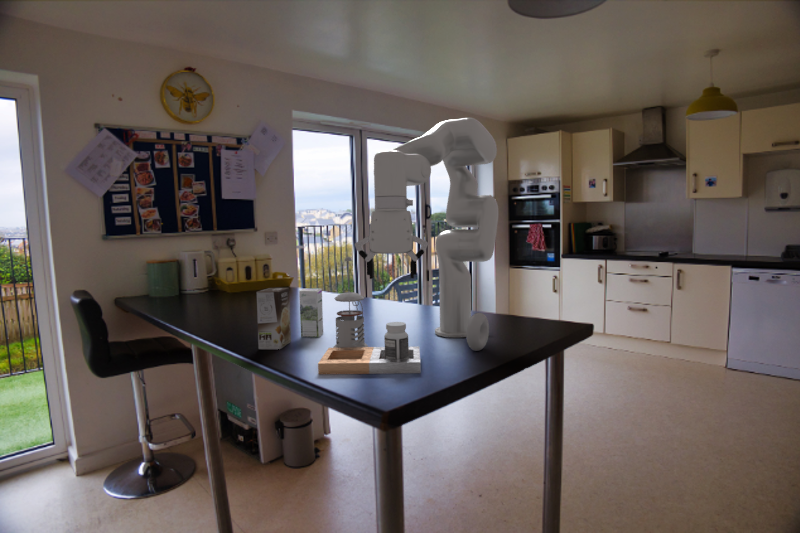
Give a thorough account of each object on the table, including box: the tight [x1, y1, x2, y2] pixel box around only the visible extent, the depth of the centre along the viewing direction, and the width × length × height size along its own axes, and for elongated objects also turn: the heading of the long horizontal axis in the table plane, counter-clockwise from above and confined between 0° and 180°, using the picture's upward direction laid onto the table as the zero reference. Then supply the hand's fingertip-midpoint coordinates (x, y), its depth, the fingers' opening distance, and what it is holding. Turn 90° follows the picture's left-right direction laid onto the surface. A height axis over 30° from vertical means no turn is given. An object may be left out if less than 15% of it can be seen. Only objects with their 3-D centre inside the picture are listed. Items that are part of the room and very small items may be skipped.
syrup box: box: [298, 287, 324, 338], centre depth 145 cm, size 6×6×14 cm
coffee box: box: [255, 287, 292, 350], centre depth 133 cm, size 9×6×16 cm
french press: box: [332, 256, 369, 348], centre depth 130 cm, size 10×12×25 cm
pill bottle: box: [383, 321, 410, 359], centre depth 112 cm, size 6×6×10 cm
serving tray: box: [317, 346, 422, 375], centre depth 113 cm, size 23×14×2 cm, turn 89°
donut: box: [465, 312, 490, 352], centre depth 124 cm, size 10×3×10 cm, turn 148°
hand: (392, 278), depth 112 cm, fingers open, 9 cm apart
